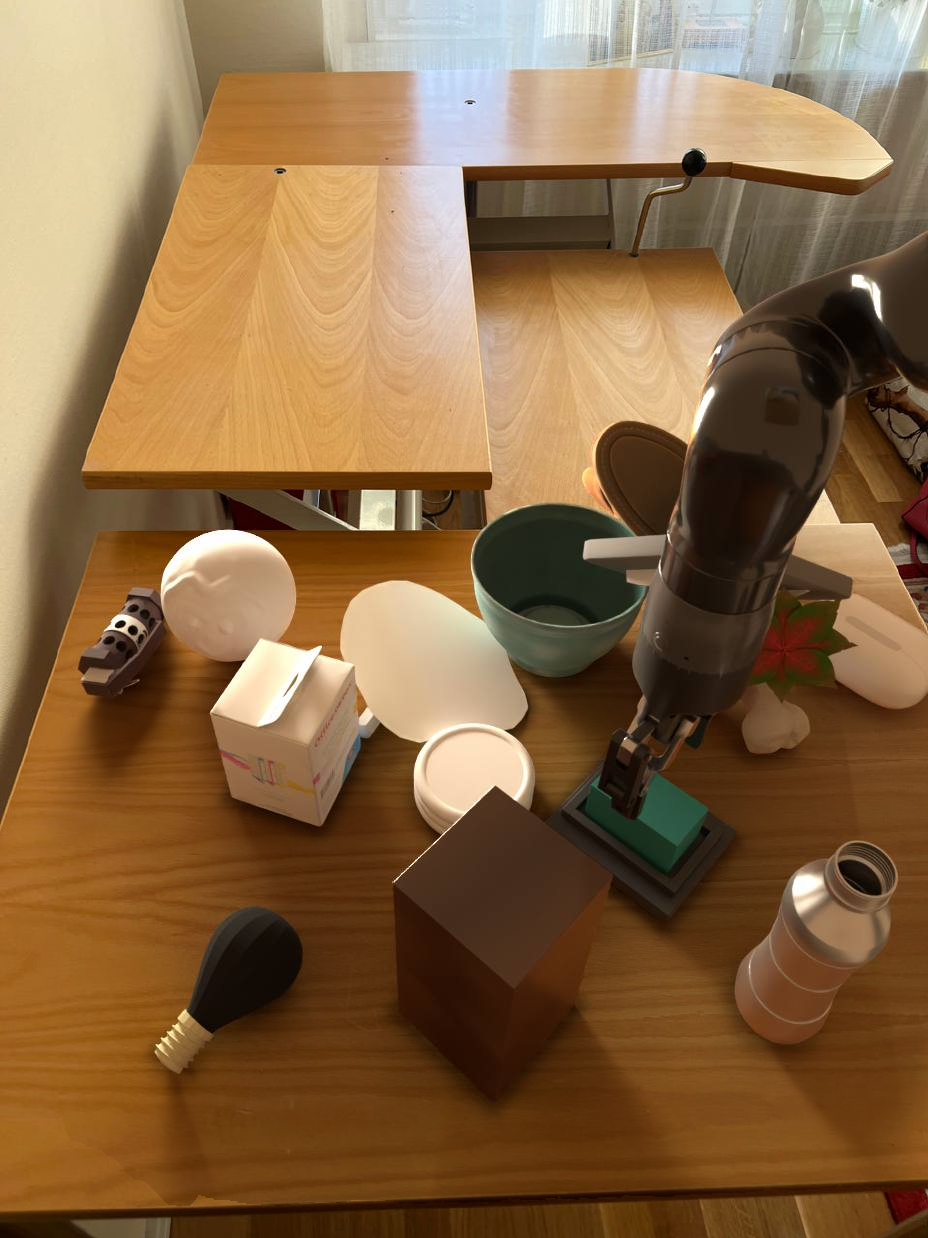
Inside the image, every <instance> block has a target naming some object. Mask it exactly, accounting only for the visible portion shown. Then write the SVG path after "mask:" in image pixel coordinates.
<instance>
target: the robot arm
mask: <svg viewBox="0 0 928 1238" xmlns="http://www.w3.org/2000/svg"><path fill="white" fill-rule="evenodd" d="M900 380H904V381H905V382H906V383H907V384H908V385H910V386H912V387H913V388H914V389H916V390H917V391H919V392H922V393H923V394H928V230H925V231H924V232H922V233H921V234H920V233H919V235H917V236H916V237H913V238H912V239H911V240H909V241H908V242H906V243H904V244H903V245H901V246H900V247H898V248H896V249H894V250H893V251H890V252H887V253H885V254H882V255H878V256H875V257H871V258H869V259H868V258H867V259H864V260H862V261H858V262H854V263H851V264H849V265H845V266H844V267H840V268H838V269H836V270H832V271H830V272H828V273H824V274H822V275H819V276H816V277H814V278H812V279H808V280H806V281H802V282H801V283H798V284H796V285H792V286H791V287H789V288H786V289H784V290H782V291H779V292H778V293H775V294H773V295H771V296H770V297H768V298H766V299H764V300H763V301H761V302H759V303H758V304H756V305H754V306H753V307H752V308H750V309H749V310H747V311H746V312H745V313H743V314H742V315H741V316H739V317H738V318H737V319H736V320H735V321H733V322H732V323H731V324H730V325H729V326H728V327H727V328H726V329H725V331H724V332H723V333H722V335H720V337H719V338H718V339H717V342H716V343H715V345H714V347H713V348H712V351H711V353H710V357H709V360H708V363H707V366H706V371H705V374H704V377H703V382H702V384H701V389H700V392H699V395H698V399H697V403H696V406H695V411H694V414H693V416H692V417H693V418H692V422H691V428H690V432H689V437H688V442H687V444H688V446H687V452H686V457H685V463H684V468H683V475H682V482H681V489H680V495H679V497H678V499H677V501H676V504H675V506H674V509H673V512H672V515H671V519H670V522H669V525H668V529H667V534H666V538H665V542H664V546H663V550H662V554H661V559H660V562H659V565H658V567H657V569H656V572H655V574H654V576H653V579H652V581H651V584H650V587H649V591H648V594H647V596H646V598H645V604H644V609H643V613H642V617H641V621H640V625H639V629H638V634H637V638H636V642H635V647H634V651H633V655H632V660H631V661H632V663H631V664H632V671H633V675H634V677H635V680H636V681H637V684H638V686H639V688H640V690H641V692H642V696H641V698H640V700H639V701H638V703H637V709H636V710H637V713H636V714H635V716H634V718H633V720H632V722H631V723H630V725H629V727H628V729H627V731H626V730H624V729H623V728H622V727H618V728H617V729H616V730H615V731H614V732H613V733H612V734H611V736H610V740H609V743H608V747H607V750H606V755H605V758H604V760H605V761H604V760H603V761H604V765H603V769H602V772H601V776H600V780H599V783H598V789H600V790H601V791H603V792H604V793H606V794H607V795H608V796H610V797H611V808H612V809H613V810H615V811H616V812H618V813H619V814H621V815H622V816H623V817H625V818H626V819H628V818H629V819H630V820H636V819H637V818H638V816H639V815H640V814H641V812H642V809H643V806H644V802H645V799H646V796H647V792H648V791H649V787H650V785H651V783H652V781H653V780H654V778H655V776H656V774H657V773H658V774H659V772H662V771H663V770H667V769H668V768H670V766H671V765H672V763H673V761H674V760H675V758H676V756H677V755H678V752H679V751H680V749H681V748H682V745H683V744H686V745H687V746H689V747H690V748H692V749H694V750H698V749H699V748H700V747H701V746H702V744H703V743H704V742H705V739H706V737H707V734H708V731H709V728H710V725H711V722H712V720H713V717H714V716H716V715H717V714H719V713H722V712H724V711H726V710H729V709H730V708H732V707H733V706H735V705H736V704H737V703H738V702H739V701H741V699H740V698H741V697H742V696H743V694H744V692H745V690H746V688H747V685H748V682H749V680H750V677H751V674H752V672H753V669H754V666H755V664H756V661H757V659H758V656H759V653H760V651H761V648H762V645H763V642H764V640H765V637H766V635H767V632H768V629H769V627H770V624H771V621H772V617H773V613H774V609H775V602H776V597H777V593H778V590H779V587H780V584H781V582H782V579H783V576H784V574H785V571H786V568H787V566H788V563H789V560H790V558H791V555H793V552H794V548H795V546H796V541H797V537H798V535H799V533H800V532H801V530H802V529H803V527H804V525H805V524H806V522H807V521H808V519H809V518H810V515H811V514H812V512H813V510H814V508H815V507H816V506H817V503H818V501H819V499H820V498H821V496H822V494H823V492H824V490H825V488H826V486H827V483H828V481H829V480H830V477H831V474H832V472H833V470H834V466H835V464H836V462H837V458H838V455H839V452H840V450H841V446H842V442H843V439H844V433H845V427H846V416H847V403H848V400H849V399H852V398H853V397H854V396H857V395H858V394H860V393H863V392H865V391H868V390H871V389H873V388H878V387H880V386H883V385H887V384H889V383H893V382H896V381H900ZM651 739H653V740H654V741H656V742H657V743H658V744H661V745H662V746H667V747H666V749H665V751H664V752H663V754H661V753H660V752H657V750H655V749H653V748H652V747H650V746H649V745H648V743H650V741H651ZM646 767H648V769H647V771H646V772H645V770H646ZM644 773H645V774H644Z"/></svg>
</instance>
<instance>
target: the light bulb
mask: <svg viewBox="0 0 928 1238" xmlns="http://www.w3.org/2000/svg"><path fill="white" fill-rule="evenodd" d="M303 959H304V949H303V944H302V941H301V937H300V936H299V934H298V932H297V930H296V929H295V927H294V926H293V925H292V924H291V923H290V922H289V921H288V920H287V919H286V918H284V916H282V915H281V914H279V913H278V912H276V911H275V910H273V909H270V908H268V907H264V906H260V905H259V906H258V905H257V906H255V905H254V906H253V905H252V906H245V907H242V908H240V909H238V910H235V911H234V912H232V913H230V914H228V915H227V916H226V917H225V918H223V920H222V921H221V922H220V923H219V924H218V925H217V927H216V928H215V930H214V931H213V933H212V935H211V936H210V938H209V941H208V943H207V945H206V948H205V950H204V953H203V956H202V960H201V963H200V966H199V969H198V974H197V976H196V981H195V984H194V988H193V991H192V995H191V998H190V1001H189V1004H188V1006H187V1008H184V1010H183V1011H182V1012H181V1013H180V1014H179V1016H177V1023H176V1024H171V1027H172V1029H171V1030H170V1031H167V1030H166V1037H160V1039H161V1042H160V1043H159V1044H157V1043H156V1044H155V1047H156V1049H155V1050H154V1053H155V1055H156V1057H157V1059H158V1062H160V1064H161V1065H162V1066H163V1067H164V1068H165V1069H166V1070H167V1069H168V1071H171V1072H174V1073H176V1074H179V1075H180V1074H181V1072H182V1071H183V1070H184V1069H188V1068H189V1065H188V1063H189V1062H194V1061H195V1059H194V1056H195V1055H200V1052H199V1049H200V1048H201V1049H205V1043H206V1042H210V1041H211V1040H212V1038H213V1037H214V1035H215V1032H216V1031H219V1030H221V1029H222V1028H223V1027H226V1026H227V1025H230V1024H232V1023H234V1022H236V1021H238V1020H241V1019H243V1018H245V1017H247V1016H249V1015H251V1014H254V1013H255V1012H258V1011H259V1010H261V1009H264V1008H265V1007H267V1006H269V1005H270V1004H272V1003H273V1002H275V1001H276V1000H278V999H279V998H280V997H282V996H283V995H284V994H286V993H287V992H288V990H289V989H290V988H291V987H292V986H293V984H294V982H295V981H296V979H297V978H298V976H299V974H300V972H301V968H302V965H303Z"/></svg>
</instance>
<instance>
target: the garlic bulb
mask: <svg viewBox="0 0 928 1238" xmlns="http://www.w3.org/2000/svg"><path fill="white" fill-rule="evenodd" d="M740 701H741V703H742V705H743V707H744V710H745V712H746V716H745V717H744V719H743V721H742V723H741V733H742V737H743V739H744V743H745V745H746V748H747V750H748V751H749V752H750V753H753V754H757V755H758V754H760V755H761V754H772V753H775V752H777V751H778V750H779V749H787V750H789V749H793V748H795V747H796V746H798V745H799V744H800V743H801V742H802V741H803V740H804V739H805V738H807V736H808V735H809V734H810V733H811V725H810V721H809V718H808V715H807V714H806V713H805V711H804V710H803V709H802V708H801V707H799V706H798V705H796V704H793V703H791V702H789V701H787V700H786V699H784V700H783V702H782V704H781V702H780V700H779V699H778V698H777V696H776V695H775V694H774V691H773V690H771V689H770V688H769V686H768V685H767V684H766V682H764V683H761V684H757V685H752V686H747V688H746V690H745V692H744V694H743V696H742V697H741V698H740Z"/></svg>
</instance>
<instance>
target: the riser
mask: <svg viewBox="0 0 928 1238" xmlns="http://www.w3.org/2000/svg"><path fill="white" fill-rule="evenodd" d="M612 877H613V874H611V873H610V872H609V871H608V870H606V869H605V868H604V867H602V866H601V865H600V864H598V863H597V862H596V861H594V860H593V859H592V858H590V857H589V856H588V855H586V854H585V853H584V852H583V851H581V850H580V849H579V848H577V847H576V846H575V845H573V844H572V843H571V842H569V841H568V840H567V839H565V838H564V837H563V836H561V835H560V834H559V833H558V832H556V831H555V830H554V829H552V828H551V827H550V826H548V825H547V824H546V823H545V821H544V820H542V819H541V818H539V816H537V815H535V814H534V813H533V812H532V811H530V810H527V809H526V808H525V807H523V806H522V805H521V804H519V803H518V802H517V801H515V800H514V799H513V798H512V797H510V796H509V795H508V794H506V793H505V792H504V791H502V790H501V789H500V788H498V787H497V786H496V785H494V786H493V787H492V788H491V789H490V790H489V791H488V792H487V793H486V794H485V795H484V796H483V797H482V798H481V799H480V800H479V801H478V802H477V803H476V804H475V805H473V806H472V807H471V808H470V809H469V810H468V811H467V812H466V813H465V814H464V815H463V816H462V817H461V818H460V819H459V820H458V821H457V822H456V823H455V824H454V825H453V826H452V827H450V828H449V829H448V830H447V831H446V832H445V833H444V834H443V835H441V836H440V837H439V838H438V839H437V840H436V841H434V843H433V844H431V845H430V846H429V847H428V848H427V849H426V850H425V851H424V852H423V853H422V854H421V855H420V856H419V857H418V858H417V859H415V861H413V862H412V864H411V865H410V866H408V867H407V868H406V869H405V870H404V871H403V872H402V873H401V874H400V875H399V876H398V877H397V878H396V879H394V881H392V898H393V899H392V901H393V917H394V918H393V921H394V923H393V924H394V944H395V947H394V948H395V949H394V950H395V968H396V969H395V970H396V995H397V1012H398V1014H400V1015H401V1016H402V1017H403V1018H404V1019H405V1020H406V1021H407V1022H408V1023H409V1024H410V1025H411V1026H412V1027H413V1028H414V1029H416V1030H417V1031H418V1033H420V1034H421V1035H422V1036H423V1037H424V1039H426V1040H427V1041H428V1042H429V1043H430V1044H431V1045H432V1046H433V1047H434V1048H435V1049H437V1050H438V1052H440V1053H441V1054H442V1055H443V1056H444V1057H445V1058H446V1059H447V1061H449V1062H450V1063H451V1064H452V1065H453V1066H454V1067H455V1068H457V1070H459V1072H461V1074H463V1076H465V1077H466V1078H467V1079H468V1080H469V1081H470V1082H471V1083H472V1084H473V1085H474V1086H475V1087H476V1088H477V1089H479V1091H480V1092H482V1093H483V1094H484V1095H485V1096H486V1097H487V1098H488V1099H489V1100H490V1101H491V1102H492V1103H495V1102H496V1101H497V1100H498V1098H500V1096H501V1095H502V1094H503V1093H504V1092H505V1090H506V1089H507V1087H509V1086H510V1084H511V1083H512V1081H513V1080H515V1078H516V1076H518V1075H519V1073H520V1072H521V1070H522V1069H523V1068H524V1067H525V1065H526V1064H527V1063H528V1062H529V1061H530V1059H531V1058H532V1057H533V1056H534V1054H535V1053H536V1052H537V1051H538V1049H539V1048H540V1047H541V1046H542V1045H543V1043H544V1042H545V1041H546V1039H548V1037H549V1036H550V1035H551V1033H552V1032H553V1031H554V1030H555V1029H556V1027H557V1026H558V1025H559V1024H560V1022H561V1021H562V1020H563V1019H564V1018H565V1017H566V1015H567V1014H568V1013H569V1011H570V1010H571V1009H572V1008H573V1006H574V1005H575V1004H576V1000H577V996H578V993H579V989H580V987H581V983H582V981H583V977H584V973H585V971H586V967H587V964H588V960H589V957H590V954H591V950H592V947H593V943H594V940H595V937H596V934H597V931H598V928H599V924H600V921H601V917H602V914H603V910H604V907H605V904H606V900H607V897H608V894H609V890H610V887H611V885H612V884H611V881H612Z"/></svg>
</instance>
